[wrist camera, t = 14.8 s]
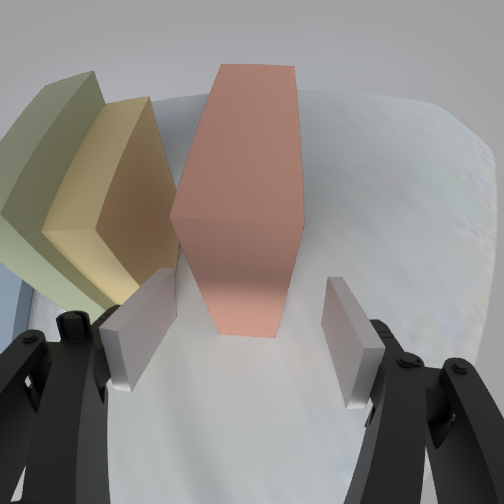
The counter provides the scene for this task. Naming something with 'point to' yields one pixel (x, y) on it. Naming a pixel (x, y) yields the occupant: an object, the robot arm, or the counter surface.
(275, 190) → the terracotta book
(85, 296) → the row books
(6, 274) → the flat book
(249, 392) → the counter surface
